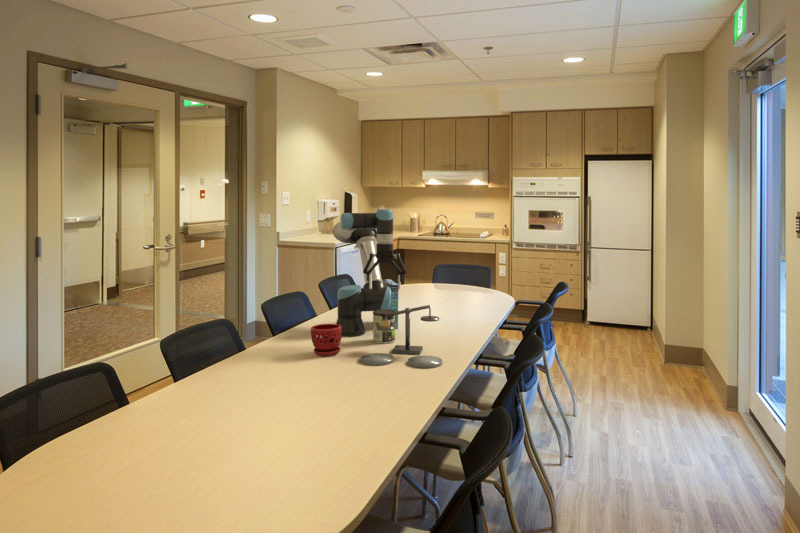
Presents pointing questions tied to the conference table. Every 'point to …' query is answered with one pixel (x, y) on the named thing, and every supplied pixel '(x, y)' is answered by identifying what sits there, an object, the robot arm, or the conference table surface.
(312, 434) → the conference table surface
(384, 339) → the coffee can
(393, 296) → the gum box
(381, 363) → the dish left
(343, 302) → the robot arm
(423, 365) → the dish right
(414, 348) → the balance
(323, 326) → the plant pot
